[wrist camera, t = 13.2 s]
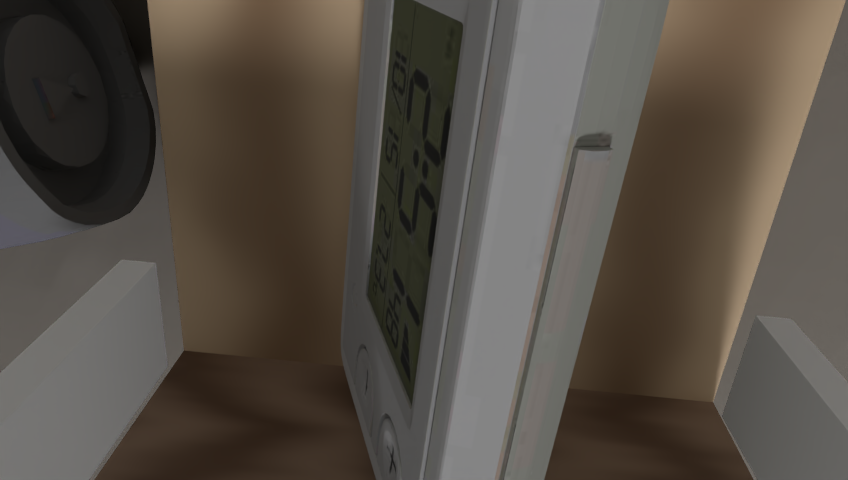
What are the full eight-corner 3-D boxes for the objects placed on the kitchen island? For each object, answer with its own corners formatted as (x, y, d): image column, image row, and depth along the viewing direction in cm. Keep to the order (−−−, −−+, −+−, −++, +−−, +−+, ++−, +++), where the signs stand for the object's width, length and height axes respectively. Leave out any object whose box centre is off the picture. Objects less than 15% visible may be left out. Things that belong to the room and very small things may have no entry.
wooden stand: (223, 336, 29) (33, 642, 16) (182, -229, 20) (-306, -512, 7) (670, 379, 29) (830, 731, 16) (832, -182, 20) (1497, -401, 7)
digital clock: (398, -171, 17) (306, -313, 7) (712, -53, 18) (1002, -43, 8) (269, 322, 24) (133, 582, 14) (499, 393, 24) (518, 687, 15)
